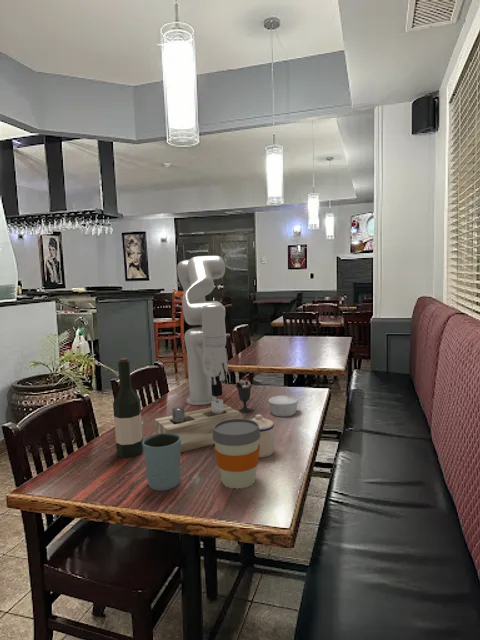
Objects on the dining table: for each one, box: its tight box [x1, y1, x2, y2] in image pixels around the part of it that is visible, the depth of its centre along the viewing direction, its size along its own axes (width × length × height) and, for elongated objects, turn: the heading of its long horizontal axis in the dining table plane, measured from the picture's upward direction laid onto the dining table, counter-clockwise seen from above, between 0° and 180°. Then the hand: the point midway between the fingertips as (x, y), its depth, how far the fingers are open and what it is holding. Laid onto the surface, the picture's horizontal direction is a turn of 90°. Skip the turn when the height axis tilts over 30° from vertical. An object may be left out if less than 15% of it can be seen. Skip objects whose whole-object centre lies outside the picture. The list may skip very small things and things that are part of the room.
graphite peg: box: [171, 406, 186, 424], centre depth 144 cm, size 4×4×8 cm
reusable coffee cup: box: [213, 418, 260, 490], centre depth 118 cm, size 13×13×15 cm
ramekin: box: [267, 395, 299, 417], centre depth 172 cm, size 11×11×5 cm
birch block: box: [154, 404, 243, 453], centre depth 148 cm, size 12×26×8 cm, turn 119°
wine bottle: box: [112, 357, 144, 459], centre depth 139 cm, size 8×8×30 cm
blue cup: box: [142, 433, 182, 491], centre depth 119 cm, size 10×10×12 cm
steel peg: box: [211, 398, 224, 416], centre depth 151 cm, size 4×4×8 cm
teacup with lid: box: [250, 413, 275, 458], centre depth 136 cm, size 12×9×12 cm
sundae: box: [235, 372, 253, 414], centre depth 175 cm, size 7×7×15 cm
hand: (217, 395), depth 150 cm, fingers closed
